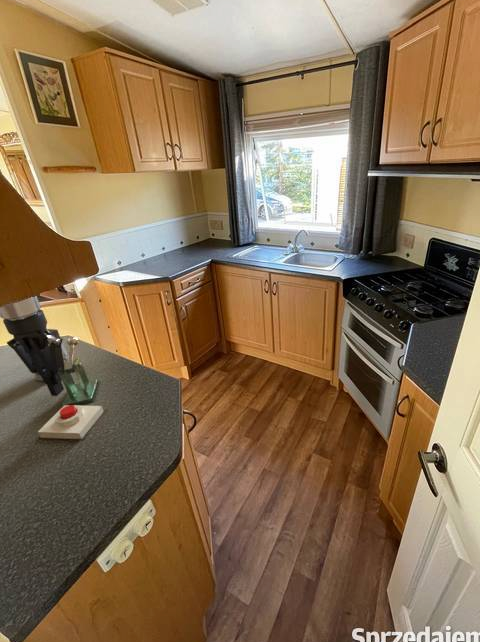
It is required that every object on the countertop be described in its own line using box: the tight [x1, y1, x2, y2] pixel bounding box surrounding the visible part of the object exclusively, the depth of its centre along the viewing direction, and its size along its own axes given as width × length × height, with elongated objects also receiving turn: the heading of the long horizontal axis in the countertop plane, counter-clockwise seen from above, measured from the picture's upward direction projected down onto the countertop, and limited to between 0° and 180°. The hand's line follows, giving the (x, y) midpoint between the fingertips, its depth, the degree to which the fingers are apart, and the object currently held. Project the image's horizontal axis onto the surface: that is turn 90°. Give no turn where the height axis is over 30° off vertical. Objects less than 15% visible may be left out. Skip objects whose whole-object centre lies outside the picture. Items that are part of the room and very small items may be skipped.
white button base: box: [37, 404, 105, 440], centre depth 82 cm, size 12×10×4 cm
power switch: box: [59, 356, 99, 407], centre depth 91 cm, size 10×8×13 cm
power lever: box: [64, 336, 80, 374], centre depth 93 cm, size 13×3×3 cm, turn 20°
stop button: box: [60, 405, 77, 419], centre depth 81 cm, size 4×4×2 cm
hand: (58, 392), depth 78 cm, fingers closed
